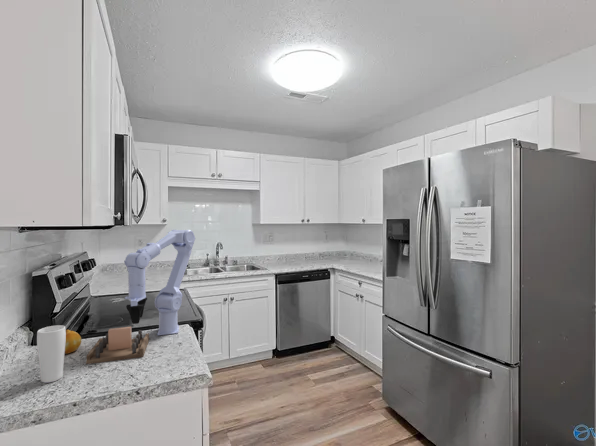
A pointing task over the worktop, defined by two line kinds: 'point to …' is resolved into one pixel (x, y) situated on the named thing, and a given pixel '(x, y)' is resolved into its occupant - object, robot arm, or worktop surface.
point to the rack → (117, 350)
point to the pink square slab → (119, 338)
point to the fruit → (72, 341)
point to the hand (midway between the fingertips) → (137, 320)
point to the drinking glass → (51, 352)
